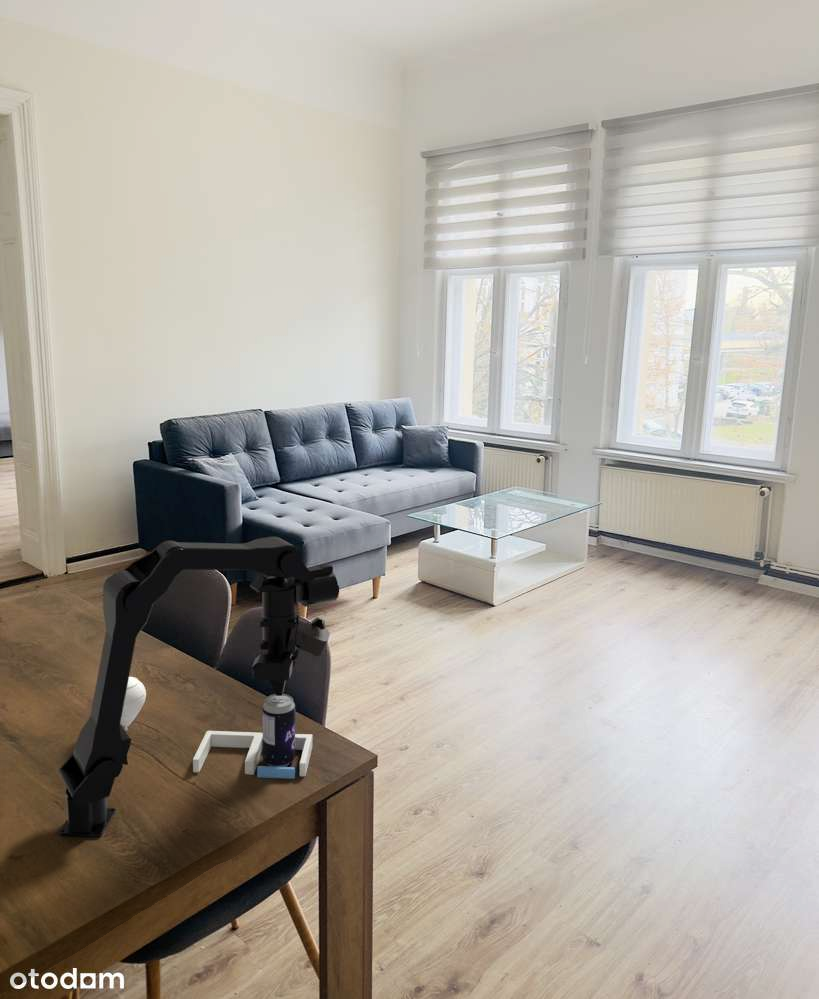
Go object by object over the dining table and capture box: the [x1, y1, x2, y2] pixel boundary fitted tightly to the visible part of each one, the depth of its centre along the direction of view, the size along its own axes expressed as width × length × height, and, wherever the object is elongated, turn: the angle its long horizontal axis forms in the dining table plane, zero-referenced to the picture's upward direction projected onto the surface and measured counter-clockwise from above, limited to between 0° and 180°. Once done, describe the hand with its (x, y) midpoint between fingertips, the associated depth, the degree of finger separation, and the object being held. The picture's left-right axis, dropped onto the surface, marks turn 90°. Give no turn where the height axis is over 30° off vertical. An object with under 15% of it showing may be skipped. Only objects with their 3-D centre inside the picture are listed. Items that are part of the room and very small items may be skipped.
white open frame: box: [192, 730, 313, 780], centre depth 142 cm, size 10×20×2 cm, turn 90°
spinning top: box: [120, 676, 147, 732], centre depth 149 cm, size 8×8×12 cm
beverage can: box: [262, 693, 296, 767], centre depth 141 cm, size 6×6×12 cm
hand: (279, 694), depth 139 cm, fingers closed
